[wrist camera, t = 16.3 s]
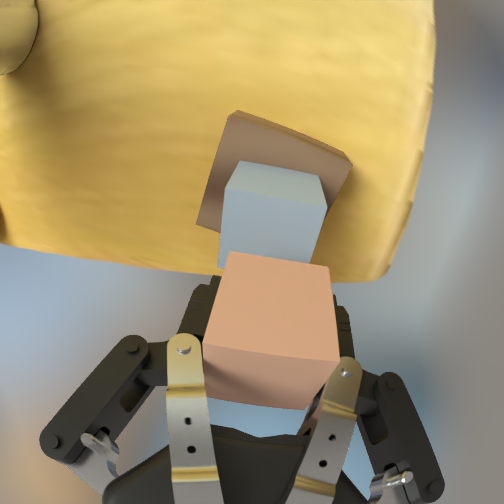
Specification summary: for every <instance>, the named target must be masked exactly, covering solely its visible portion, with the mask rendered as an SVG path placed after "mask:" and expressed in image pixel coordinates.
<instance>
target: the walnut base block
mask: <svg viewBox="0 0 504 504" xmlns="http://www.w3.org/2000/svg"><path fill="white" fill-rule="evenodd" d="M239 161H246V162H252V163H258V164H263V165H269V166H274V167H280V168H285V169H290V170H295V171H300V172H304V173H309V174H314V175H318V176H319V179H320V183H321V186H322V189H323V193H324V197H325V200H326V204H327V211H326V214H325V217H326V215H327V213H328V211H329V209H330V208H331V206H332V204H333V202H334V200H335V198H336V197H337V195H338V193H339V191H340V189H341V187H342V185H343V183H344V181H345V180H346V178H347V176H348V174H349V172H350V170H351V168H352V166H353V165H352V164H351V162H350V161H349V159H348V158H347V157H346V155H345V154H344V152H342V151H340V150H338V149H336V148H334V147H332V146H329V145H327V144H325V143H323V142H320V141H318V140H316V139H314V138H311V137H309V136H307V135H304V134H302V133H299V132H297V131H294V130H292V129H289V128H287V127H284V126H282V125H279V124H276V123H274V122H271V121H268V120H265V119H263V118H260V117H257V116H254V115H251V114H248V113H245V112H242V111H239V110H237V111H235V112H234V113H232V114H231V115H229V116H228V119H227V122H226V125H225V128H224V131H223V134H222V137H221V141H220V144H219V147H218V150H217V153H216V156H215V160H214V163H213V166H212V169H211V173H210V176H209V179H208V183H207V186H206V190H205V193H204V197H203V200H202V204H201V208H200V211H199V215H198V219H197V222H196V225H199V226H202V227H205V228H208V229H211V230H214V231H216V232H219V233H221V224H222V213H223V203H224V194H225V187H226V185H227V183H228V182H229V180H230V178H231V176H232V174H233V172H234V170H235V169H236V167H237V165H238V163H239ZM325 217H324V219H325Z"/></svg>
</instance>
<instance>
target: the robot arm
mask: <svg viewBox="0 0 504 504" xmlns="http://www.w3.org/2000/svg"><path fill="white" fill-rule="evenodd" d="M34 2H35V0H0V75H3V74H6V73H9V72H13V71H14V70H16V69H17V68H18V67H19V66H20V65H21V64H22V63H23V61H24V60H25V59H26V57H27V55H28V54H29V52H30V49H31V47H32V45H33V42H34V39H35V36H36V32H37V27H38V11H37V8H36V7H35V4H34ZM221 278H222V277H221V276H215V275H213V276H212V279H211V282H210V285H205V284H200V285H199V286H198V287H197V288H196V289H195V290H194V291H193V293H192V296H191V298H190V301H189V304H188V307H187V309H186V311H185V314H184V317H183V319H182V322H181V325H180V327H179V330H178V332H177V334H176V335H175V336H173V337H172V338H171V339H170V340H168V341H165V342H156V343H147V341H146V340H145V339H144V338H142V337H141V336H138V335H129V336H126V337H124V338H123V339H121V340H120V342H119V343H118V344H117V345H116V346H115V347H114V348H113V349H112V350H111V352H110V353H109V354H108V355H107V356H106V357H105V358H104V359H103V360H102V361H101V363H100V364H99V365H98V366H97V367H96V368H95V369H94V371H93V372H92V373H91V374H90V375H89V376H88V377H87V378H86V380H85V381H84V382H83V383H82V384H81V385H80V387H79V388H78V389H77V390H76V391H75V392H74V394H73V395H72V396H71V397H70V398H69V399H68V401H67V402H66V403H65V404H64V405H63V407H62V408H61V409H60V410H59V412H58V413H57V414H56V415H55V416H54V417H53V419H52V420H51V421H50V422H49V423H48V425H47V426H46V427H45V428H44V429H43V431H42V433H41V434H40V439H39V441H40V446H41V449H42V450H43V452H44V453H45V454H46V455H47V456H48V457H50V458H52V459H54V460H56V461H58V462H59V463H61V464H63V465H66V466H67V467H68V468H69V469H71V470H72V471H73V472H74V473H75V474H76V475H77V476H79V477H80V478H81V479H82V480H83V481H84V482H86V483H87V484H88V485H89V486H90V487H92V488H93V489H94V490H95V491H97V492H98V493H99V494H101V495H102V504H428V503H432V502H434V501H436V500H438V499H439V498H440V497H441V495H442V493H443V491H444V487H445V483H444V479H443V476H442V473H441V471H440V468H439V465H438V463H437V460H436V457H435V455H434V452H433V449H432V447H431V444H430V442H429V439H428V437H427V434H426V432H425V430H424V427H423V425H422V422H421V420H420V418H419V416H418V413H417V411H416V409H415V406H414V404H413V402H412V400H411V398H410V395H409V394H408V391H407V389H406V387H405V385H404V383H403V381H402V379H401V378H400V377H399V376H398V375H397V374H395V373H393V372H385V373H383V374H382V375H381V376H378V375H374V374H372V373H369V372H367V371H365V370H363V369H362V367H361V365H360V363H359V362H358V361H357V360H355V355H354V348H353V340H352V334H351V327H350V321H349V315H348V313H347V311H346V310H345V308H344V307H343V306H337V302H336V296H335V295H334V294H333V302H334V309H335V317H336V326H337V335H338V344H339V355H340V362H339V364H338V365H337V367H336V368H335V370H334V371H333V372H332V374H331V375H330V376H329V378H328V379H327V380H326V382H325V384H324V385H323V386H322V388H321V389H320V390H319V392H318V393H317V394H316V396H315V397H314V398H313V399H312V400H311V403H310V405H309V408H308V411H307V413H306V416H305V419H304V421H303V423H302V425H301V427H300V429H299V430H298V432H297V434H296V435H287V434H284V435H277V436H271V437H262V438H259V437H255V436H252V435H250V434H247V433H244V432H242V431H239V430H237V429H234V428H228V427H223V426H218V425H212V424H210V420H209V413H208V405H207V397H206V390H205V383H204V366H203V345H202V342H203V339H204V335H205V332H206V328H207V325H208V322H209V318H210V315H211V311H212V308H213V305H214V301H215V298H216V295H217V291H218V288H219V285H220V281H221ZM155 386H168V389H167V391H166V403H167V421H168V435H169V444H168V445H167V446H166V447H164V448H163V449H161V450H160V451H158V452H157V453H155V454H154V455H152V456H151V457H149V458H148V459H147V460H145V461H143V462H142V463H140V464H138V465H137V466H135V467H134V468H132V469H130V470H129V471H127V472H126V473H124V474H122V475H121V476H119V475H118V473H117V471H116V462H117V460H118V457H119V447H118V445H117V444H116V443H115V440H116V439H117V437H118V436H119V434H120V433H121V432H122V430H123V429H124V428H125V427H126V425H127V424H128V423H129V421H130V420H131V419H132V417H133V416H134V415H135V413H136V412H137V411H138V409H139V408H140V407H141V405H142V404H143V403H144V401H145V400H146V398H147V397H148V396H149V395H150V393H151V392H152V390H153V389H154V388H155ZM356 422H357V425H358V427H359V430H360V433H361V435H362V438H363V441H364V444H365V446H366V450H367V453H368V455H369V459H370V462H371V464H372V467H373V470H374V473H375V476H374V477H373V479H372V481H371V484H370V491H371V495H370V498H369V500H368V501H367V499H366V498H365V497H364V496H363V495H362V494H361V493H360V491H359V490H358V489H357V488H356V486H355V485H354V484H353V483H352V482H351V480H350V479H349V478H348V477H347V476H346V474H345V473H344V472H343V471H342V466H343V464H344V461H345V457H346V454H347V451H348V448H349V444H350V441H351V437H352V434H353V430H354V427H355V423H356Z"/></svg>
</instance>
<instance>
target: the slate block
mask: <svg viewBox="0 0 504 504" xmlns="http://www.w3.org/2000/svg"><path fill="white" fill-rule="evenodd" d="M326 211H327V204H326V200H325V197H324V193H323V189H322V186H321V183H320V179H319V176H318V175H314V174H309V173H304V172H300V171H295V170H290V169H285V168H280V167H274V166H269V165H263V164H258V163H252V162H246V161H239V163H238V165H237V167H236V169H235V170H234V172H233V174H232V176H231V178H230V180H229V182H228V183H227V185H226V187H225V194H224V203H223V213H222V224H221V234H220V245H219V257H218V268H221V269H224V268H225V265H226V262H227V258H228V255H229V252H230V251H234V252H240V253H247V254H253V255H259V256H265V257H271V258H277V259H283V260H289V261H296V262H302V263H308V264H309V263H310V260H311V257H312V254H313V251H314V248H315V245H316V242H317V239H318V236H319V233H320V230H321V227H322V224H323V220H324V217H325V214H326Z"/></svg>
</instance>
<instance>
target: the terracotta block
mask: <svg viewBox="0 0 504 504" xmlns="http://www.w3.org/2000/svg"><path fill="white" fill-rule="evenodd" d="M202 345H203V366H204V383H205V390H206V397H210V398H215V399H220V400H226V401H232V402H238V403H244V404H251V405H258V406H266V407H274V408H284V409H296V410H297V409H298V410H305V408H306V407H307V406H308V405H309V403H310V402H311V400H312V399H313V398H314V397H315V396H316V394H317V393H318V392H319V390H320V389H321V388H322V386H323V385H324V384H325V382H326V380H327V379H328V378H329V376H330V375H331V374H332V372H333V371H334V370H335V368H336V367H337V365H338V364H339V362H340V355H339V344H338V335H337V326H336V317H335V309H334V302H333V294H332V288H331V281H330V274H329V268H328V267H327V266H320V265H314V264H308V263H302V262H296V261H289V260H283V259H277V258H271V257H265V256H259V255H253V254H247V253H240V252H234V251H230V252H229V255H228V258H227V262H226V265H225V268H224V271H223V275H222V278H221V281H220V285H219V288H218V291H217V295H216V298H215V301H214V305H213V308H212V311H211V315H210V318H209V322H208V325H207V328H206V332H205V335H204V339H203V342H202Z"/></svg>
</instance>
